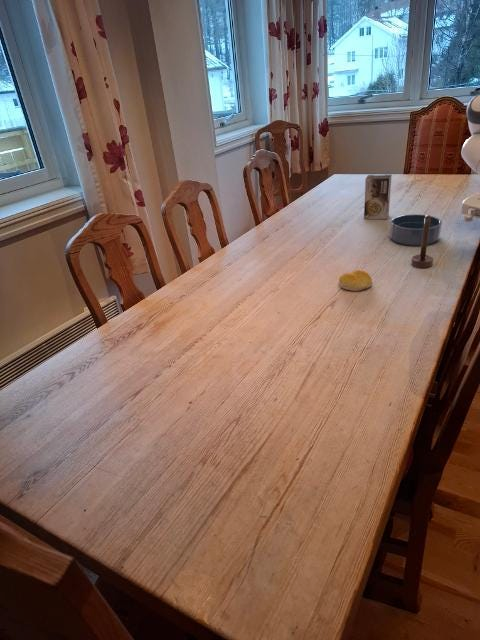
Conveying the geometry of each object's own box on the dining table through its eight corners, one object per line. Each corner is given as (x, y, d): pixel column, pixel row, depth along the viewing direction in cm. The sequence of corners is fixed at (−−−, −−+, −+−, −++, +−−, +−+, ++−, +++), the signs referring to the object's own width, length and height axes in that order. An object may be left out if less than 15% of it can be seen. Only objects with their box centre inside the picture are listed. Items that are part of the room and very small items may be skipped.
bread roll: (333, 283, 125) (334, 270, 123) (360, 277, 127) (361, 264, 125) (348, 294, 118) (349, 281, 116) (377, 287, 120) (378, 274, 118)
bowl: (437, 231, 154) (440, 214, 151) (440, 247, 141) (443, 229, 138) (390, 230, 159) (391, 214, 156) (388, 245, 146) (390, 228, 143)
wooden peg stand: (431, 261, 132) (438, 212, 125) (432, 268, 127) (440, 218, 120) (411, 260, 134) (416, 212, 126) (411, 267, 129) (417, 218, 122)
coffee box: (389, 215, 174) (392, 174, 166) (386, 219, 169) (390, 177, 161) (366, 214, 178) (368, 174, 170) (363, 218, 173) (365, 177, 165)
